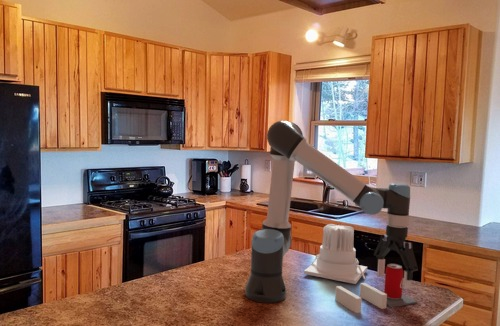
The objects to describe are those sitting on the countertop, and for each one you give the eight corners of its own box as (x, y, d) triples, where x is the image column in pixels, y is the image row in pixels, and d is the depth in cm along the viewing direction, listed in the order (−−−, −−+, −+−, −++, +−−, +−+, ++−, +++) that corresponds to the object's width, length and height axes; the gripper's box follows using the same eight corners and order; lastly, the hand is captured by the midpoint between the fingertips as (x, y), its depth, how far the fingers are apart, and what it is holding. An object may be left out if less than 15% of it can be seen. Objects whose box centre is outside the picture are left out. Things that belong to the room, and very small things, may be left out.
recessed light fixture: (300, 275, 175) (302, 226, 174) (316, 263, 194) (318, 218, 193) (359, 287, 164) (362, 235, 162) (370, 273, 183) (373, 225, 182)
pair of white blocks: (356, 313, 139) (356, 298, 139) (335, 299, 150) (335, 286, 150) (386, 308, 144) (386, 294, 144) (363, 295, 155) (364, 282, 155)
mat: (391, 307, 145) (391, 305, 145) (369, 294, 156) (369, 293, 156) (417, 303, 150) (417, 301, 150) (393, 291, 161) (393, 289, 161)
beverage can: (404, 297, 153) (406, 266, 152) (397, 302, 149) (399, 269, 148) (388, 292, 158) (390, 262, 157) (381, 296, 153) (383, 265, 152)
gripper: (431, 232, 142) (427, 293, 143) (381, 218, 164) (378, 270, 166) (415, 234, 139) (410, 295, 140) (366, 219, 161) (363, 272, 163)
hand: (393, 282), depth 153 cm, fingers open, 13 cm apart
